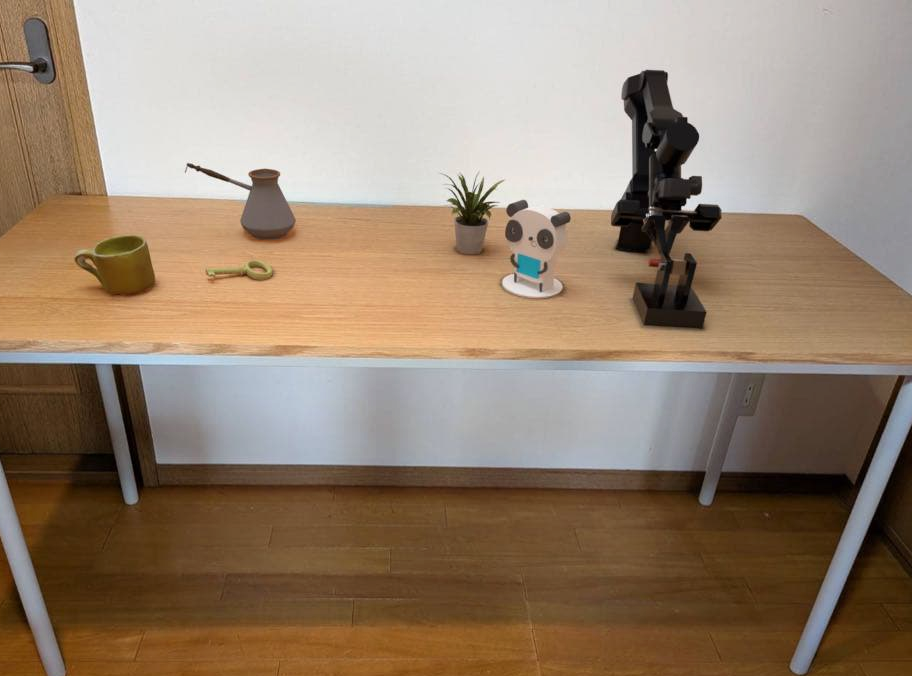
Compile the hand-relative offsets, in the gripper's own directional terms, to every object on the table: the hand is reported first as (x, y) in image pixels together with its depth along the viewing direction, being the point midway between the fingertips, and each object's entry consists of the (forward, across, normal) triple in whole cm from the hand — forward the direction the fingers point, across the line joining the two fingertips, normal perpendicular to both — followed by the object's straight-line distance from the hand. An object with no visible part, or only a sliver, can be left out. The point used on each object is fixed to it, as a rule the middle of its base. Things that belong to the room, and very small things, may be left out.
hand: (665, 258), depth 135 cm
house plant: (-8, -37, +18) cm, 42 cm away
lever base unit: (+11, 0, 0) cm, 11 cm away
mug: (+12, -98, -1) cm, 98 cm away
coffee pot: (-9, -83, +20) cm, 85 cm away
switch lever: (+4, 0, -3) cm, 5 cm away
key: (+6, -78, +5) cm, 78 cm away
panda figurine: (+4, -23, +7) cm, 25 cm away
